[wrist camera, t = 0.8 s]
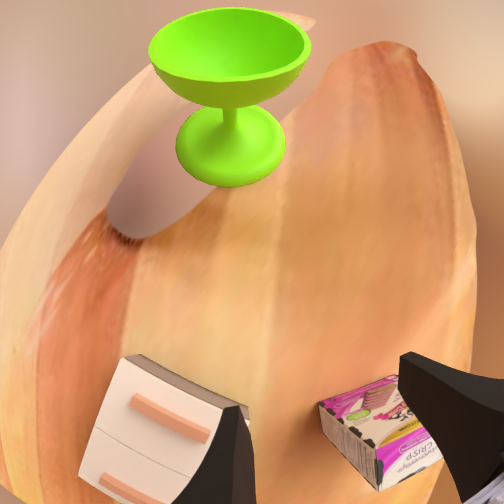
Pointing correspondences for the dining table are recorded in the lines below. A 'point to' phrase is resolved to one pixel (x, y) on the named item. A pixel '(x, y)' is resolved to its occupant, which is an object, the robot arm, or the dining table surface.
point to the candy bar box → (378, 433)
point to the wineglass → (230, 88)
